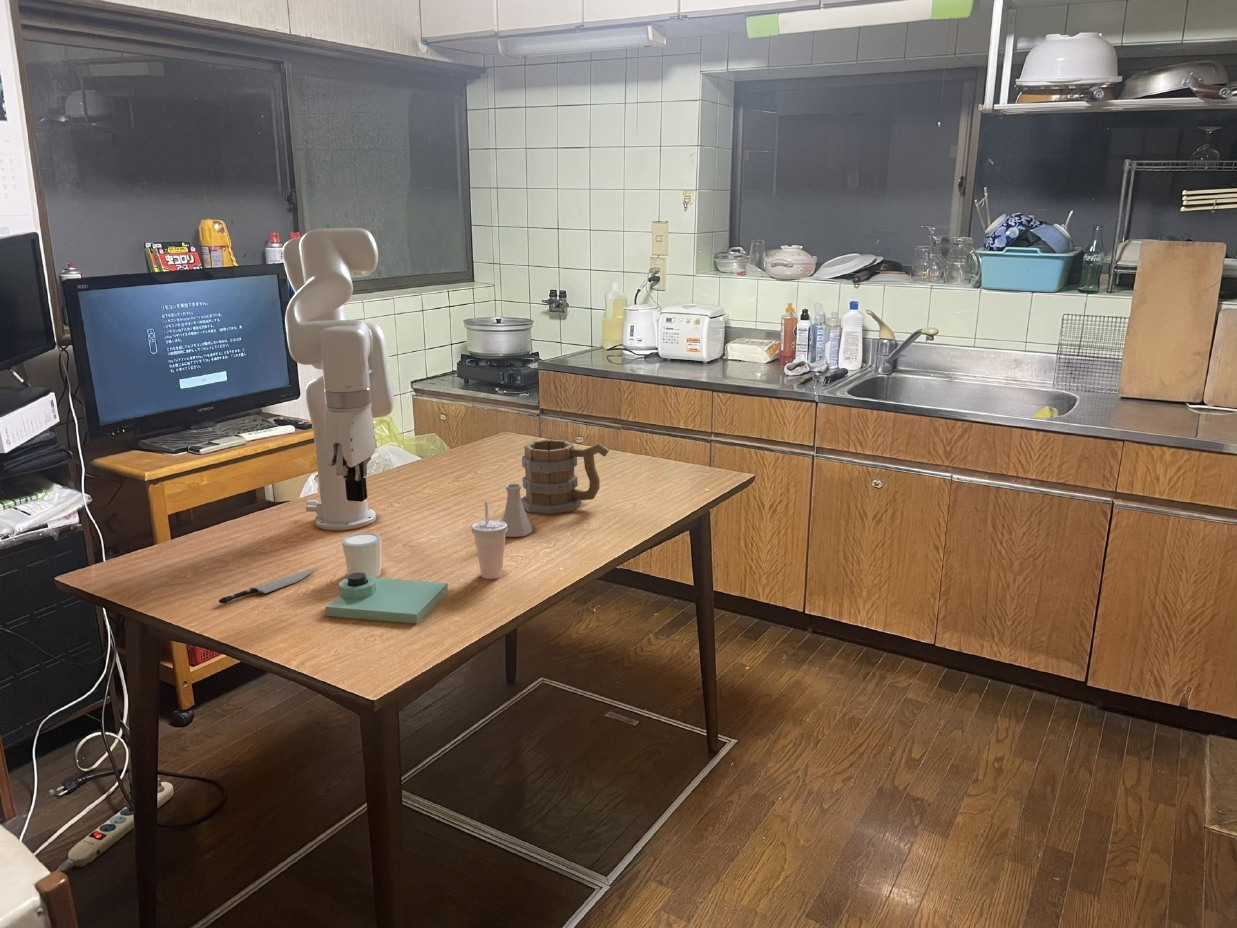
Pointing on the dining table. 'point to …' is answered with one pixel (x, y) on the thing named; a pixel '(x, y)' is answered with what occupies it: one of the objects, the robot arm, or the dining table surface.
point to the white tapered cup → (363, 554)
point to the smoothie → (490, 545)
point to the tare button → (357, 579)
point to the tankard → (557, 476)
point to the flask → (515, 513)
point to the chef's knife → (268, 586)
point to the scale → (387, 599)
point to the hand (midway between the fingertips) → (357, 499)
